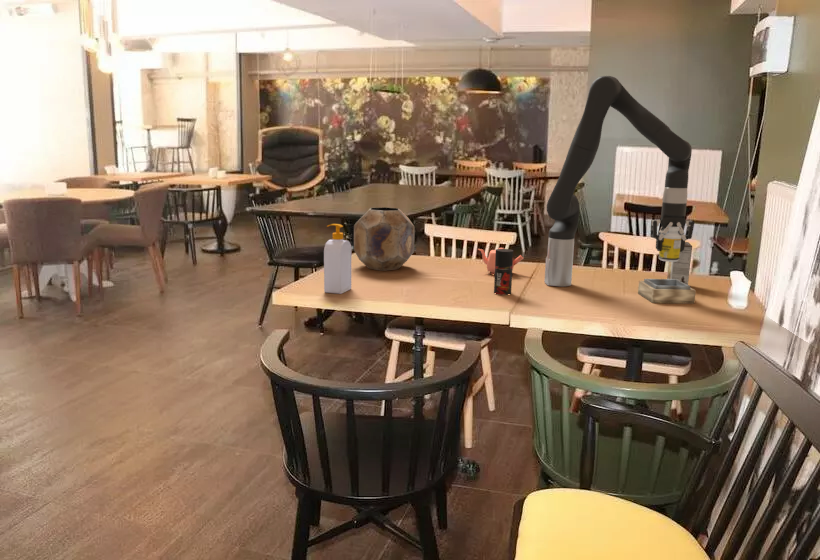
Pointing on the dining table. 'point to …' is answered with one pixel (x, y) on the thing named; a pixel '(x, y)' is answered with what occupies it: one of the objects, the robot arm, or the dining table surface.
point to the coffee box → (681, 265)
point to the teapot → (491, 260)
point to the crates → (666, 291)
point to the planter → (384, 238)
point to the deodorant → (503, 271)
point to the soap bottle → (337, 263)
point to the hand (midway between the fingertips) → (669, 251)
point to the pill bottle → (671, 245)
